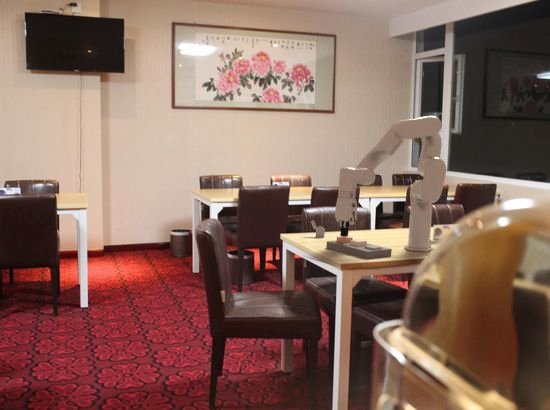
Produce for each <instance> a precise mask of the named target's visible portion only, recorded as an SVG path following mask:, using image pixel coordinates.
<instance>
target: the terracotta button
mask: <svg viewBox="0 0 550 410" xmlns="http://www.w3.org/2000/svg"><path fill="white" fill-rule="evenodd" d="M350 240H354V238H353V237H351V236H345V237H343V236H336V241H337V242H341V243H350Z"/></svg>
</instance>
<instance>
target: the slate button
mask: <svg viewBox="0 0 550 410" xmlns="http://www.w3.org/2000/svg"><path fill="white" fill-rule="evenodd" d="M374 245H375V244H372V245H371V246H365V249H369V250H381V249H382V247H383V246H381V247H379V245H376V246H374Z"/></svg>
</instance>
